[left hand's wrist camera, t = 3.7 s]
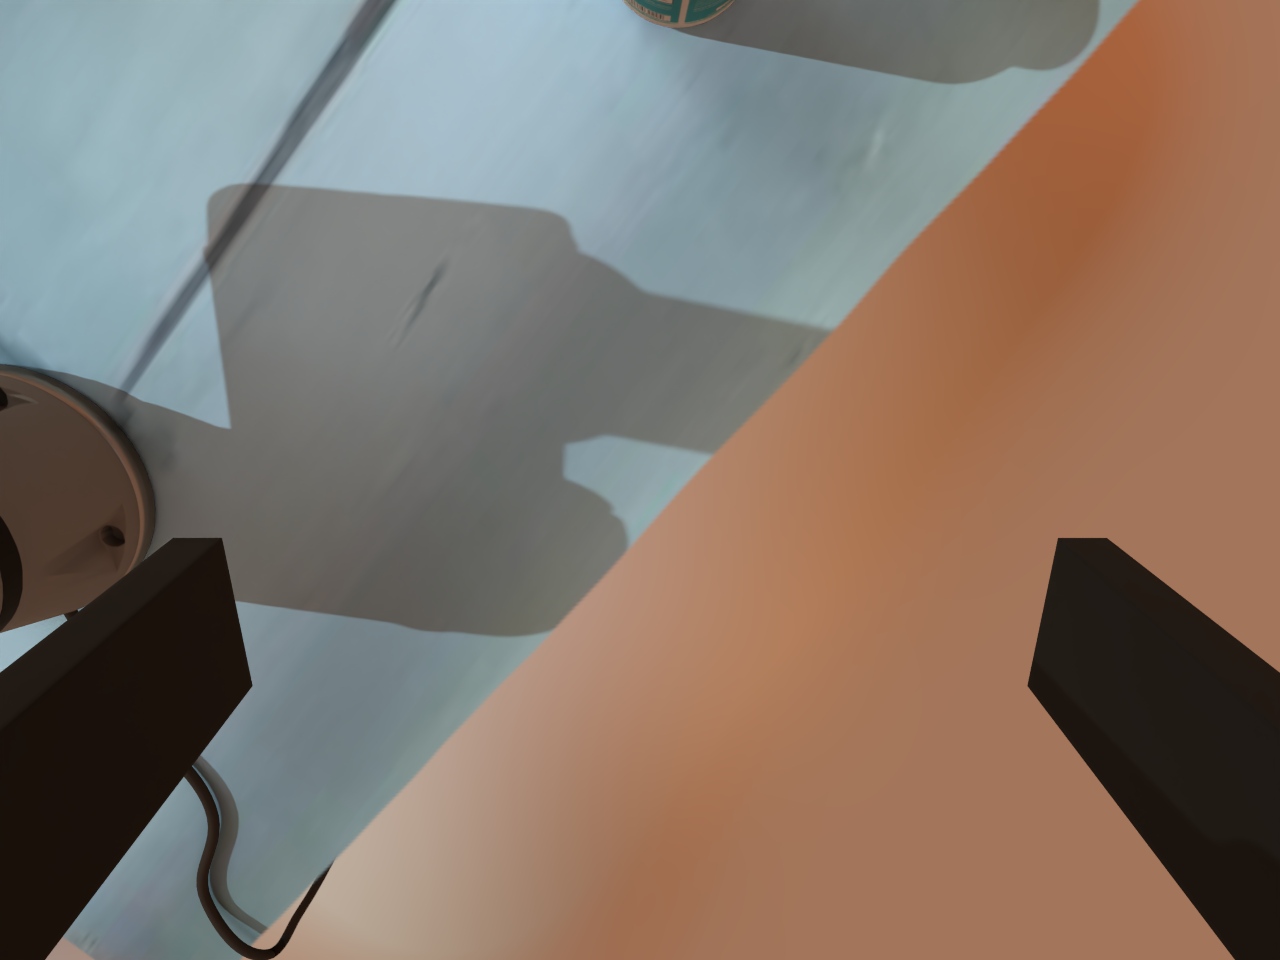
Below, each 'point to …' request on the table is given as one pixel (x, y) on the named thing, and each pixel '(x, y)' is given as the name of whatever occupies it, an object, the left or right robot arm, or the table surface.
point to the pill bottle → (678, 11)
